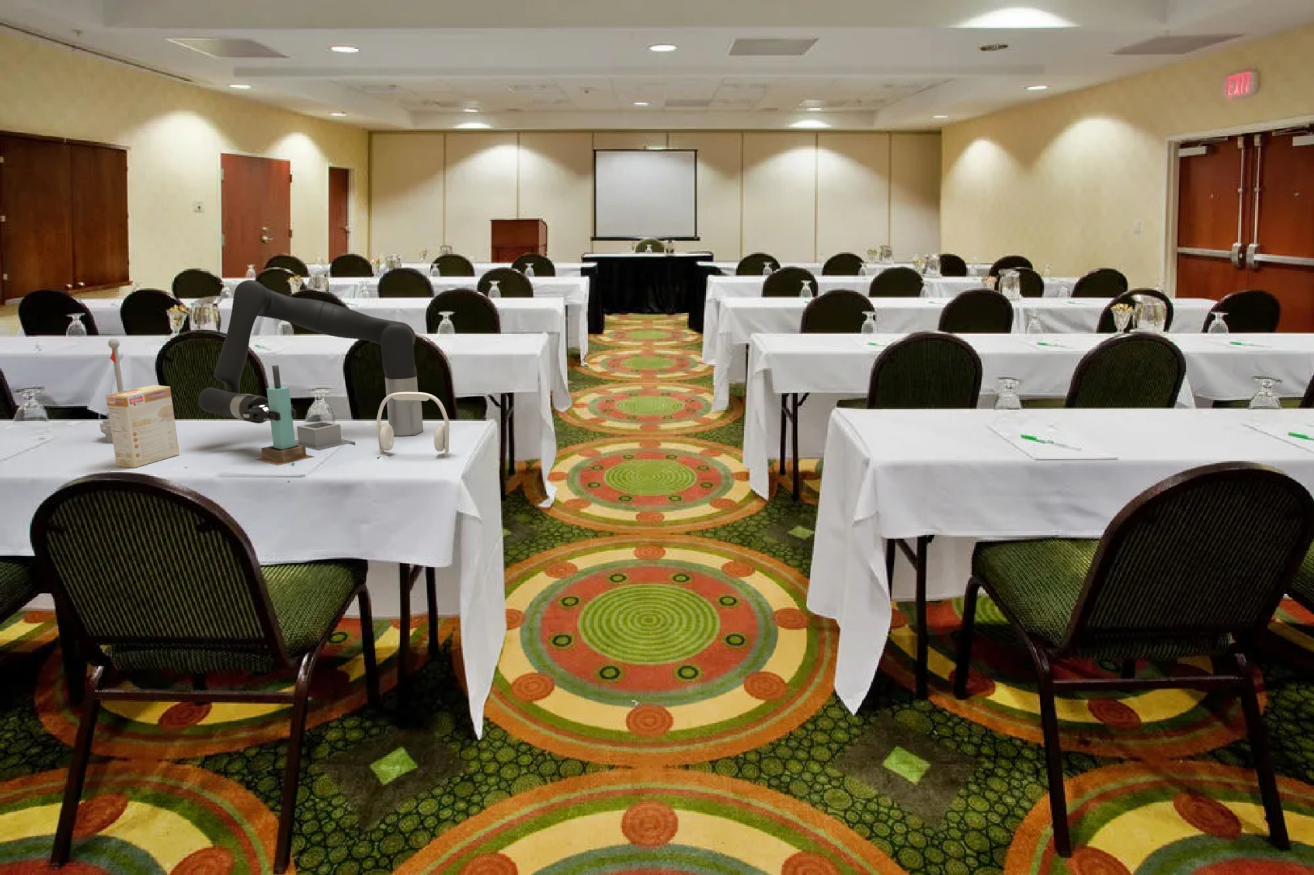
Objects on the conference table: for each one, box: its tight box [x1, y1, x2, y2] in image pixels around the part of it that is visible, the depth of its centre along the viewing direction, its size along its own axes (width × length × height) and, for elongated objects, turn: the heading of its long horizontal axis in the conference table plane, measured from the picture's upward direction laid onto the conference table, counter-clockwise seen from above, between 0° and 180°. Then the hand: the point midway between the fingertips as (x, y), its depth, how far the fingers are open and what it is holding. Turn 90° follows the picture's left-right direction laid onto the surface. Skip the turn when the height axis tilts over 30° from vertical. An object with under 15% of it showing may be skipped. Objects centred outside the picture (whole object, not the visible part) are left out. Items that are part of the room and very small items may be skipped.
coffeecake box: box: [105, 384, 180, 469], centre depth 258 cm, size 15×7×20 cm, turn 159°
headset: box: [375, 391, 450, 459], centre depth 261 cm, size 20×7×18 cm, turn 86°
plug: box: [266, 364, 296, 449], centre depth 254 cm, size 4×4×22 cm
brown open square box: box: [254, 444, 315, 466], centre depth 258 cm, size 11×11×4 cm
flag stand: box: [99, 338, 124, 443], centre depth 283 cm, size 13×13×30 cm
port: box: [295, 420, 356, 451], centre depth 275 cm, size 12×16×6 cm
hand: (286, 415), depth 253 cm, fingers closed on plug, 4 cm apart
